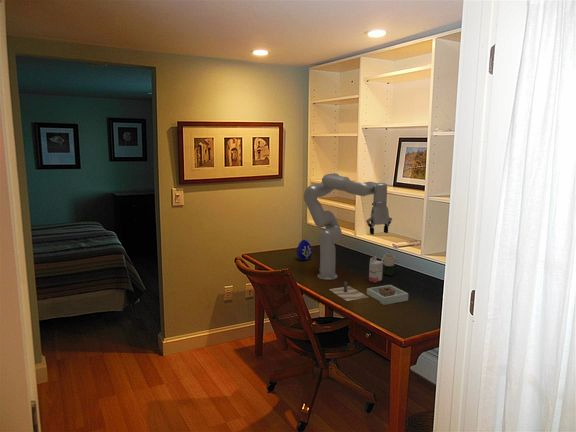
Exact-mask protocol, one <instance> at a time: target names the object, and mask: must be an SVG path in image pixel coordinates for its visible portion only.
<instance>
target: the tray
mask: <svg viewBox="0 0 576 432" xmlns="http://www.w3.org/2000/svg"><path fill="white" fill-rule="evenodd" d="M385 287H390V288H392V289H394V290H395V295H393V296H387V297H384V296H382V295H380V294H379V291H380V288H385ZM366 294H367V296H369V297H372V298H373V299H375V300H377V301H376V302H377V303H379V304H381V305H383V306H385V305H392V304H395V303H396V304H397V303H402V302H408V301H409V293H408V292H407V291H404V290H402V289H400V288H398V287H396V286H394V285H392V284H385V285H380V286H375V287H369V288H366Z"/></svg>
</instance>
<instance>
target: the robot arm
mask: <svg viewBox="0 0 576 432" xmlns="http://www.w3.org/2000/svg"><path fill="white" fill-rule="evenodd" d="M335 190H337V191H342V192H345V193H347V194H350V195H356V196H360V197H366V196H369V195H373V200H372V201H373V202H372V203H371V205H372V207H371V211H370V217H369V218H368V219H366V220H365V222H366V224H367V226H368V227H369V234H370V235H374V234H375V228H374V227H375V226H379V225H383V233H384V234H388V233H389V227H390V225H391V223H392V221H393V218H392V217H390V216H389V215H390V213H389V208H388V206H387V203H388V201H387V198H388V184H387V183H386V182H375V181H364V182H359V181H354V180H351V179H350V178H349V177H348V176H342V175H340V174H338V173H335V172H334V173H333V172H332V173H327V174H325V175H323V177H322V178H321V182H319V183H314V184H311V185H308V186H307V187H306V189H304V191H303V192H304V193H303V201H304V202H305V205H306V207H307V208H308V211H309V214H310V216H311V218H312V220H313V223H314V225H315V226H316V227H317V228H323V229H322V230H321V231H320V232H319V235H318V242H319V246H320V247H319V252H320V254H319V262H320V263H319V269H318V271H319V273H318V274H317V278H318V279H320V280H323V281H324V280H325V281H331V280H332V281H333V280H336V279H337V278H338V274H337V273H336V246H335V242H336V241H338V240H340V239H341V238H342V235H343V232H342V229H341V227H340V223H339V222H338V220H337V218H336V216H335V214H334V212H332V211H330V210H324V208H323V205H322V204H321V202H320V201H319V200H318V198H321V197H324V196H327V195H329V194H330V193H331V192H332V191H335Z"/></svg>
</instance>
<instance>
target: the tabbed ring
mask: <svg viewBox="0 0 576 432" xmlns="http://www.w3.org/2000/svg"><path fill="white" fill-rule="evenodd" d="M379 294H380V295H382V296H384V297H387V296H393V295H395V290H394V289H392V288H390V287H385V288H380V291H379Z"/></svg>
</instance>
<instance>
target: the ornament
mask: <svg viewBox="0 0 576 432" xmlns="http://www.w3.org/2000/svg"><path fill="white" fill-rule="evenodd" d="M296 255H297V258H298V259H299V260H300V261H309V259H310V258H311V257H312V255H313V249H312V245H311V244H310V242H309V241H308V240H306V239H302V240H301V241H300V242H299V243H298V245H297V249H296Z"/></svg>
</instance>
